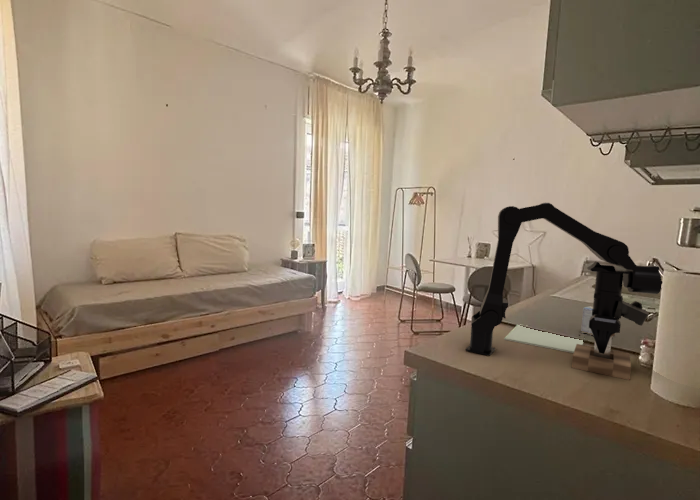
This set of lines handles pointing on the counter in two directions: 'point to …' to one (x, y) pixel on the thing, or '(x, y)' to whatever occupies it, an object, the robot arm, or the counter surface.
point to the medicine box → (586, 319)
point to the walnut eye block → (602, 362)
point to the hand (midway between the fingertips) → (601, 350)
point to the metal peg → (607, 351)
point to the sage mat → (543, 339)
